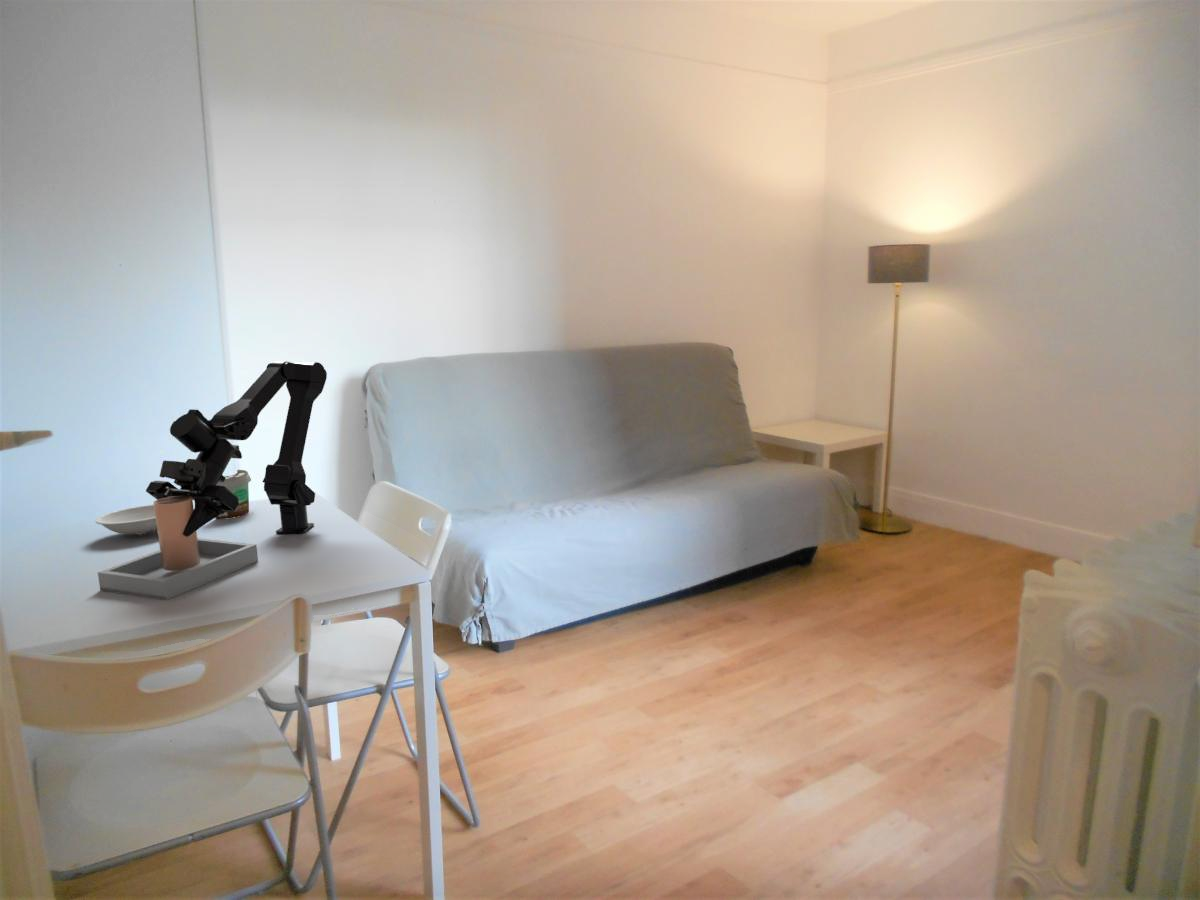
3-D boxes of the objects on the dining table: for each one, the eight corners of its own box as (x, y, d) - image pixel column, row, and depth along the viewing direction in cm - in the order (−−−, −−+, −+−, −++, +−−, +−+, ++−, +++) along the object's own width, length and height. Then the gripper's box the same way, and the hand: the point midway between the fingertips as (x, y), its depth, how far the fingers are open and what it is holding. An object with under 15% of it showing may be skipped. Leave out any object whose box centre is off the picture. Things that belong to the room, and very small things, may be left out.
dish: (166, 520, 202) (164, 500, 201) (195, 530, 194) (192, 509, 193) (87, 538, 189) (84, 517, 188) (114, 549, 180) (110, 527, 179)
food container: (234, 521, 200) (229, 481, 198) (211, 520, 201) (206, 480, 199) (264, 508, 211) (260, 469, 210) (242, 507, 213) (238, 469, 211)
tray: (196, 553, 176) (194, 537, 175) (258, 560, 170) (256, 544, 169) (100, 590, 155) (97, 572, 155) (166, 600, 149) (163, 581, 149)
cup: (193, 557, 167) (185, 493, 164) (205, 564, 162) (197, 499, 159) (158, 565, 162) (148, 500, 160) (169, 573, 158) (159, 506, 155)
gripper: (147, 440, 165) (105, 509, 157) (220, 445, 158) (180, 517, 150) (184, 471, 173) (146, 537, 165) (255, 476, 167) (219, 545, 159)
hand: (171, 534), depth 160 cm, fingers closed on cup, 6 cm apart
